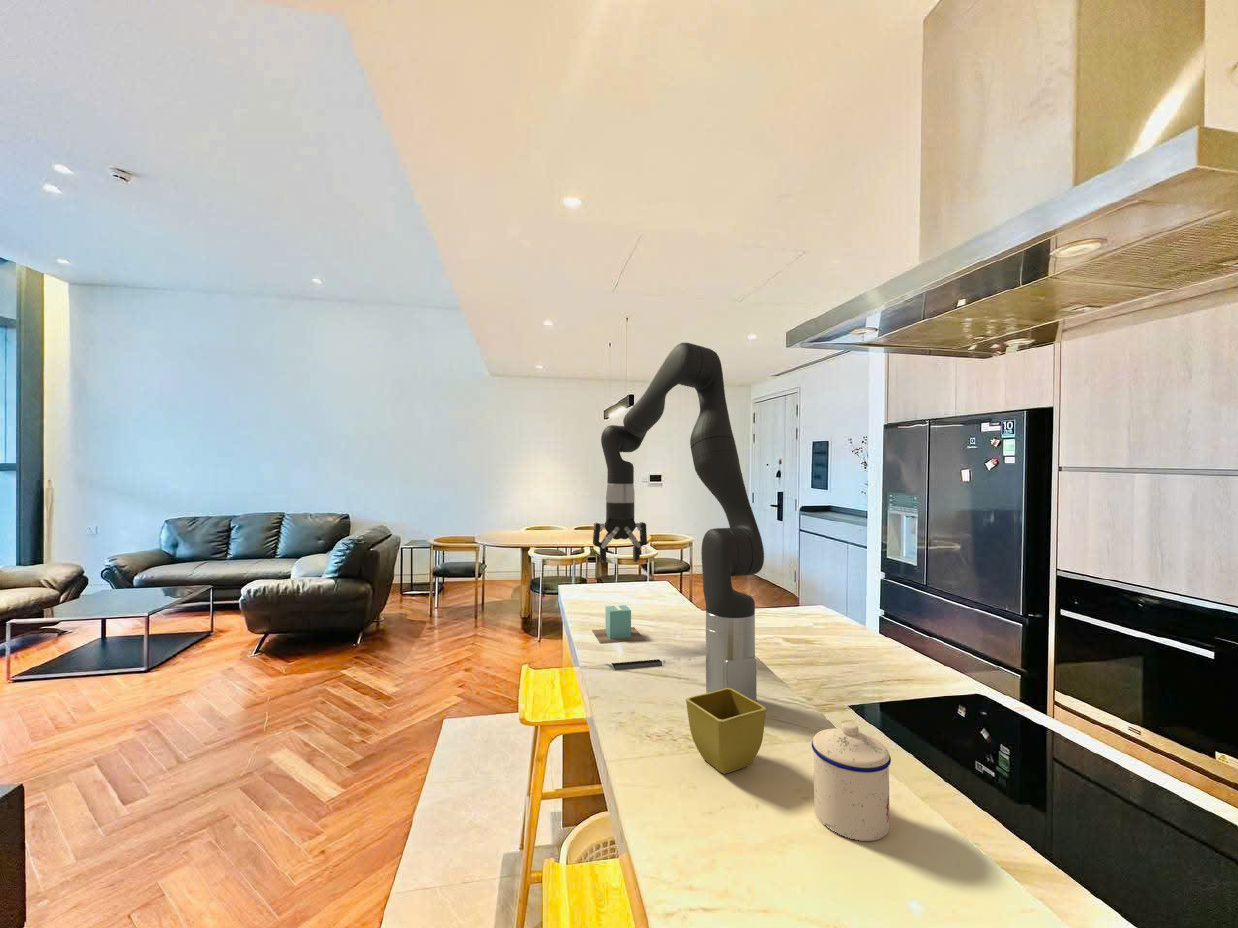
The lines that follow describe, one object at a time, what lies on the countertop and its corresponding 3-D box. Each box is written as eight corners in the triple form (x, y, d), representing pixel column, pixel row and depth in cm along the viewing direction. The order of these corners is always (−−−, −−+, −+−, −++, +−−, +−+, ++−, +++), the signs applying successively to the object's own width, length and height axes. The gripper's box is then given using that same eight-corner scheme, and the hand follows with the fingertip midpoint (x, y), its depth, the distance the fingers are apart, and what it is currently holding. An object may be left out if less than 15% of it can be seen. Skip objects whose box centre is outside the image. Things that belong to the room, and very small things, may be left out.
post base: (646, 646, 132) (646, 618, 132) (600, 649, 129) (600, 621, 129) (633, 632, 143) (634, 607, 144) (591, 635, 141) (591, 609, 141)
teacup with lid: (908, 842, 61) (907, 741, 61) (834, 846, 60) (833, 744, 60) (853, 782, 72) (852, 698, 73) (791, 785, 72) (790, 700, 72)
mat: (662, 666, 118) (662, 662, 118) (615, 670, 115) (615, 666, 115) (648, 650, 128) (648, 647, 128) (605, 653, 126) (605, 650, 126)
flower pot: (720, 786, 71) (720, 720, 72) (684, 756, 79) (684, 697, 80) (768, 770, 76) (768, 708, 76) (729, 743, 83) (729, 686, 84)
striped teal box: (631, 637, 134) (631, 609, 134) (610, 638, 133) (610, 610, 133) (625, 631, 140) (625, 604, 140) (605, 632, 138) (605, 605, 139)
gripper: (596, 501, 132) (596, 565, 131) (650, 501, 135) (649, 563, 135) (591, 500, 139) (590, 560, 139) (642, 499, 142) (641, 558, 142)
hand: (619, 561), depth 137 cm, fingers open, 8 cm apart
